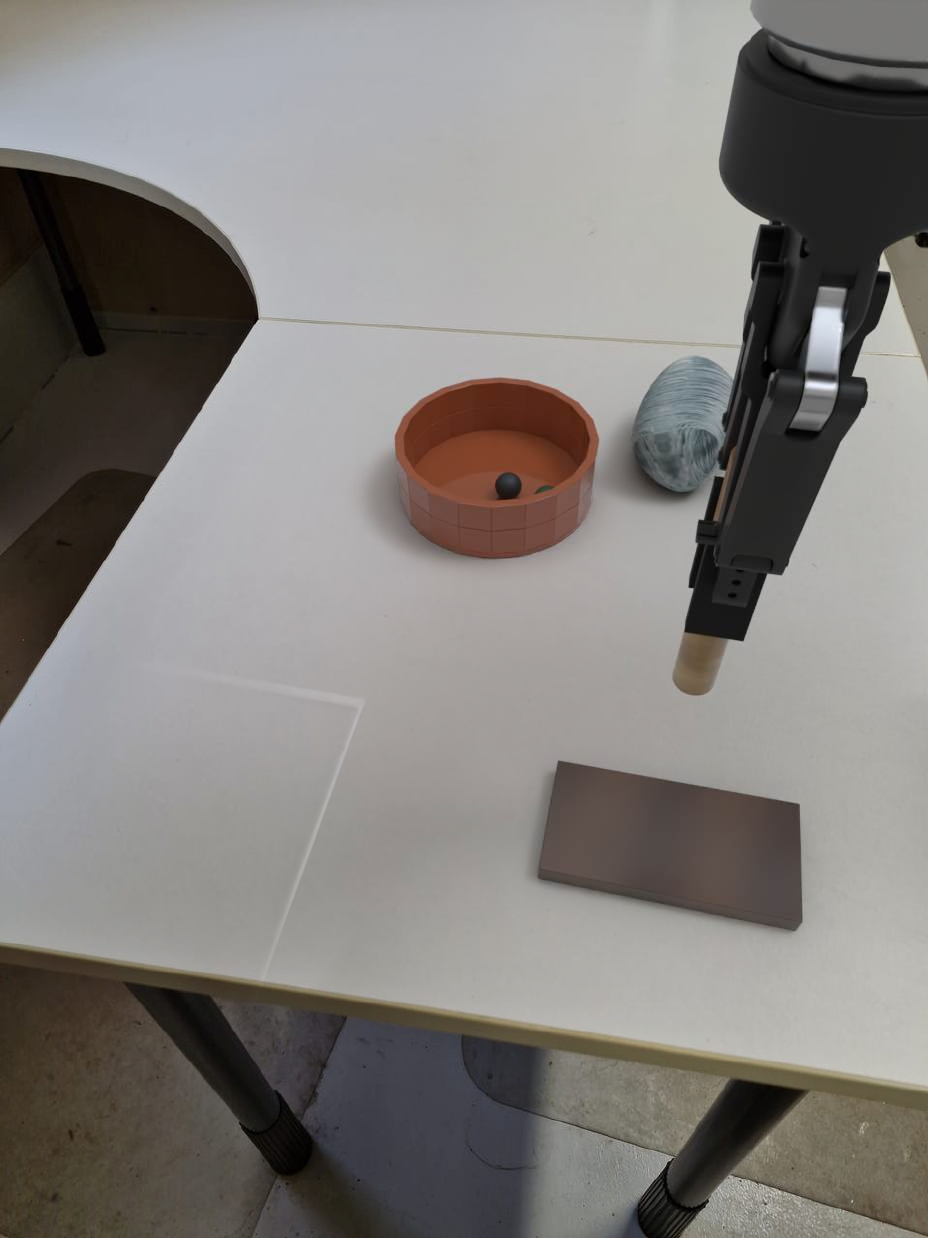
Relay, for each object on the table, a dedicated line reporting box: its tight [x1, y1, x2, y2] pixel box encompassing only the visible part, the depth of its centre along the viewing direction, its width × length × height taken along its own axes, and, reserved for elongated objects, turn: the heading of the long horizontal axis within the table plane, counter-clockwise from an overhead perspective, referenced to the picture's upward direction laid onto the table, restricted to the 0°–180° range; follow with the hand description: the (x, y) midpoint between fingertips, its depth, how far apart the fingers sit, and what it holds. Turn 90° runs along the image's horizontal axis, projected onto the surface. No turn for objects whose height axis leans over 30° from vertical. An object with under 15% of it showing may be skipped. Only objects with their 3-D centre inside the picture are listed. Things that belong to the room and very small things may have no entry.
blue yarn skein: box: [631, 355, 734, 493], centre depth 78 cm, size 14×10×10 cm
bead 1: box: [495, 472, 522, 499], centre depth 76 cm, size 2×2×2 cm
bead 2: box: [534, 485, 554, 495], centre depth 75 cm, size 2×2×2 cm
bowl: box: [394, 376, 600, 559], centre depth 77 cm, size 18×18×6 cm
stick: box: [671, 447, 736, 697], centre depth 40 cm, size 2×2×15 cm
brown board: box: [537, 760, 804, 931], centre depth 56 cm, size 16×8×2 cm, turn 77°
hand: (715, 607), depth 41 cm, fingers closed on stick, 2 cm apart
